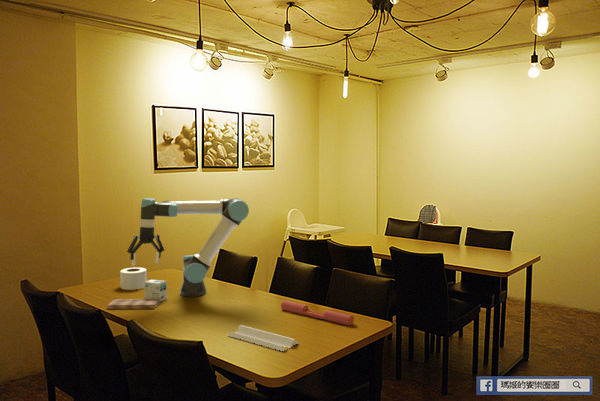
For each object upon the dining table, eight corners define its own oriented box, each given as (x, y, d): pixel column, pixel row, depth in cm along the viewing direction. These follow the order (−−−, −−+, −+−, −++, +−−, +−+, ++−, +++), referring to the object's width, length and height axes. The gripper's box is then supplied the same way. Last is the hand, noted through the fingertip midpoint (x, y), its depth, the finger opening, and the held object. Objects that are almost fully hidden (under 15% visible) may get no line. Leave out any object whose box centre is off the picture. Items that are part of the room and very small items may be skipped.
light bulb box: (167, 299, 277) (167, 280, 276) (160, 302, 270) (159, 283, 270) (151, 297, 280) (151, 279, 279) (144, 300, 274) (143, 281, 273)
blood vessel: (280, 310, 258) (280, 301, 257) (286, 308, 262) (286, 299, 261) (348, 327, 233) (348, 317, 232) (354, 324, 237) (354, 314, 236)
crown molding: (227, 337, 219) (227, 329, 218) (245, 330, 228) (245, 322, 228) (283, 353, 201) (283, 345, 201) (299, 345, 211) (299, 336, 210)
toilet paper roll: (141, 290, 296) (141, 272, 295) (116, 289, 296) (116, 272, 295) (150, 283, 311) (149, 267, 310) (126, 283, 311) (125, 267, 310)
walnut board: (160, 302, 269) (160, 298, 269) (155, 308, 258) (155, 304, 258) (114, 303, 268) (114, 299, 268) (107, 308, 257) (107, 304, 257)
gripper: (165, 225, 277) (163, 261, 278) (122, 226, 260) (120, 265, 262) (171, 226, 271) (169, 264, 272) (127, 228, 255) (125, 267, 256)
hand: (145, 264), depth 267 cm, fingers open, 13 cm apart
